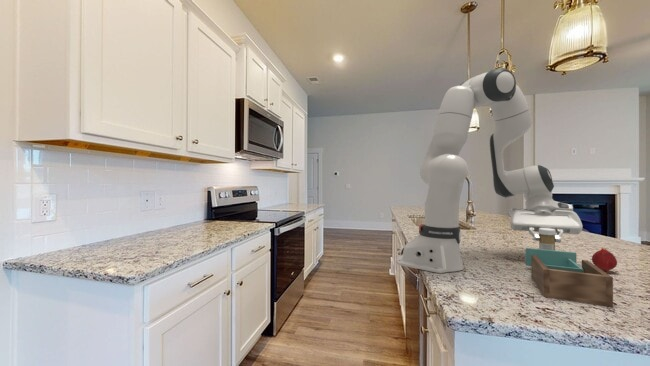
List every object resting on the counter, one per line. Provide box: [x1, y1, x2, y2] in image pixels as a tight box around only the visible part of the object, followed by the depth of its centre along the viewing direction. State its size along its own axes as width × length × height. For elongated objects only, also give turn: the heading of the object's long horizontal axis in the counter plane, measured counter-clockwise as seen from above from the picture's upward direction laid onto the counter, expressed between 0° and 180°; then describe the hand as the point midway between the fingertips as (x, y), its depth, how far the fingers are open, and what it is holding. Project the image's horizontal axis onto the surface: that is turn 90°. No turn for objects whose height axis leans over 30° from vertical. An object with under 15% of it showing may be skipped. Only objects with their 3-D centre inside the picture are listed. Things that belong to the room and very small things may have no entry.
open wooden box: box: [531, 255, 614, 308], centre depth 75 cm, size 13×16×7 cm
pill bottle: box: [538, 228, 557, 250], centre depth 95 cm, size 5×5×14 cm
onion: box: [591, 246, 618, 273], centre depth 90 cm, size 6×6×8 cm
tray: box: [525, 247, 584, 273], centre depth 85 cm, size 13×14×6 cm
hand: (547, 240), depth 94 cm, fingers closed on pill bottle, 4 cm apart
